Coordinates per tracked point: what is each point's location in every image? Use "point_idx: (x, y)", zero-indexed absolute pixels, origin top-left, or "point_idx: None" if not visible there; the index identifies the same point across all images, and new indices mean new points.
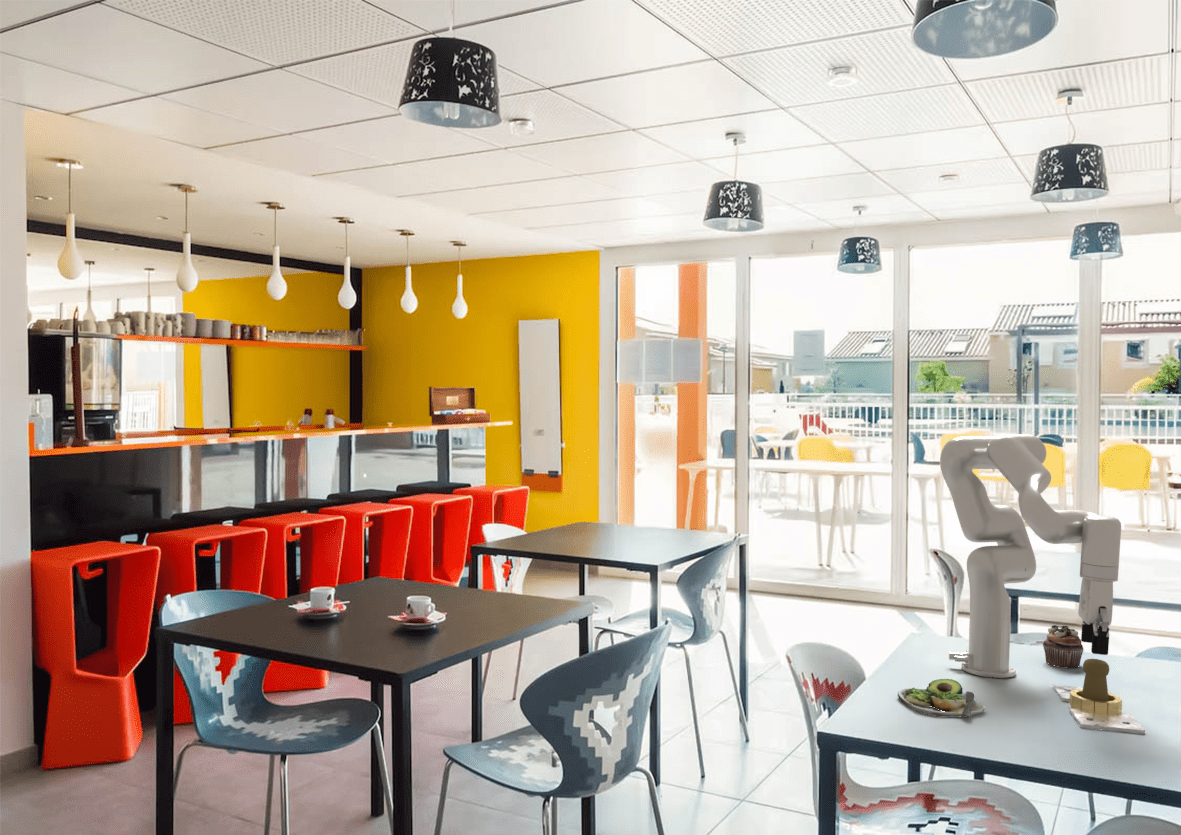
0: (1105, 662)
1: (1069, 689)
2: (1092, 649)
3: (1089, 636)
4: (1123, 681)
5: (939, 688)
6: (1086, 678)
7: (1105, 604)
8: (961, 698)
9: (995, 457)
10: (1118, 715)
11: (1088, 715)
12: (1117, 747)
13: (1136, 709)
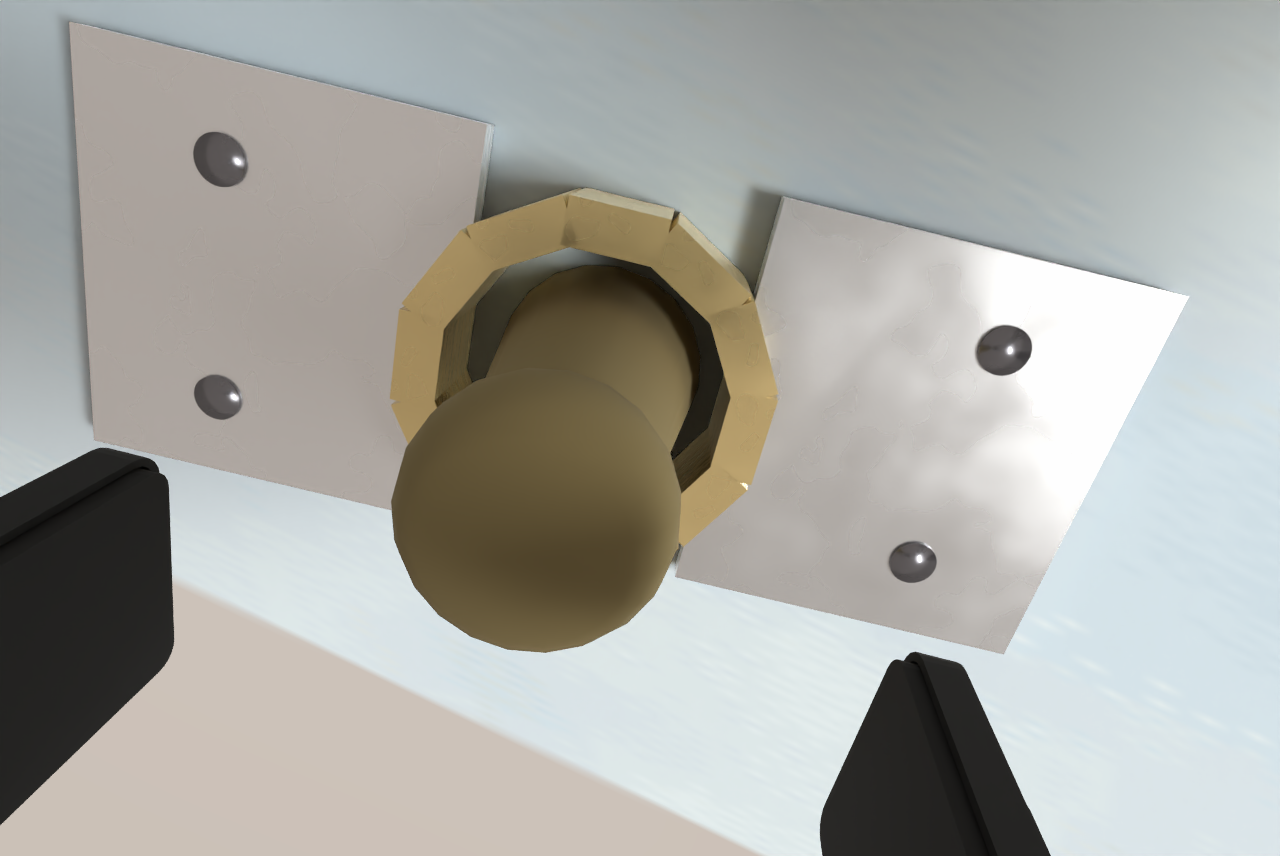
0: (470, 626)
1: (1027, 378)
2: (51, 475)
3: (879, 828)
4: (1248, 849)
5: None
6: (543, 360)
7: None
8: None
9: None
10: (382, 428)
11: (323, 199)
12: None
13: (635, 631)
